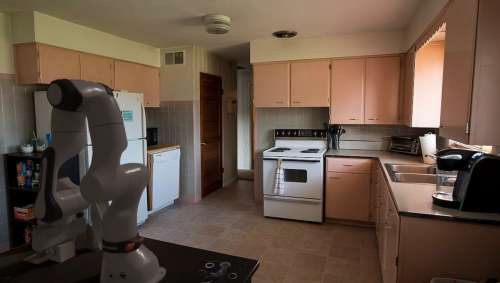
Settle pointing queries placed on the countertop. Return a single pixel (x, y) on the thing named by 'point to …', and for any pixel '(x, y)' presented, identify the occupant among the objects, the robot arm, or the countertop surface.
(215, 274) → the countertop surface
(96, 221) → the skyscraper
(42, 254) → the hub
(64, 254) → the knob
